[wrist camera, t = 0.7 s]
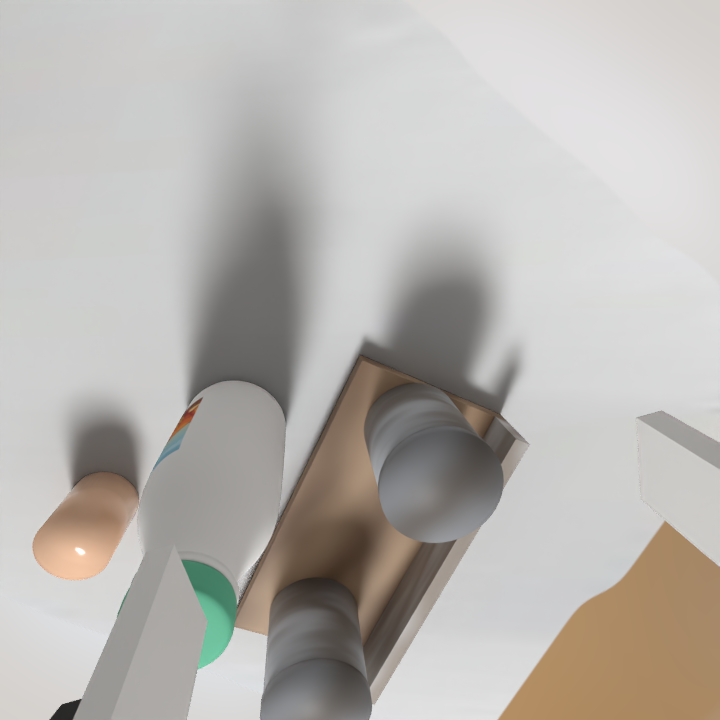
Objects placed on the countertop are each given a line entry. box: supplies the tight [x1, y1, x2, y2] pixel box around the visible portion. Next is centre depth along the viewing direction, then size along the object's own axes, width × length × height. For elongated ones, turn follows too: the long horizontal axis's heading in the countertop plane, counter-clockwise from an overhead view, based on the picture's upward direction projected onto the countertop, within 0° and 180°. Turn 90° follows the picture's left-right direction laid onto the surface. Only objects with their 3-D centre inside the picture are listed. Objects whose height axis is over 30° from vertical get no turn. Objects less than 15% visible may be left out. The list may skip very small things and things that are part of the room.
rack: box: [234, 355, 530, 720], centre depth 37 cm, size 13×27×10 cm, turn 155°
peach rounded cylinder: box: [33, 472, 139, 580], centre depth 36 cm, size 5×5×6 cm
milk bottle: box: [117, 381, 286, 669], centre depth 29 cm, size 8×8×20 cm
